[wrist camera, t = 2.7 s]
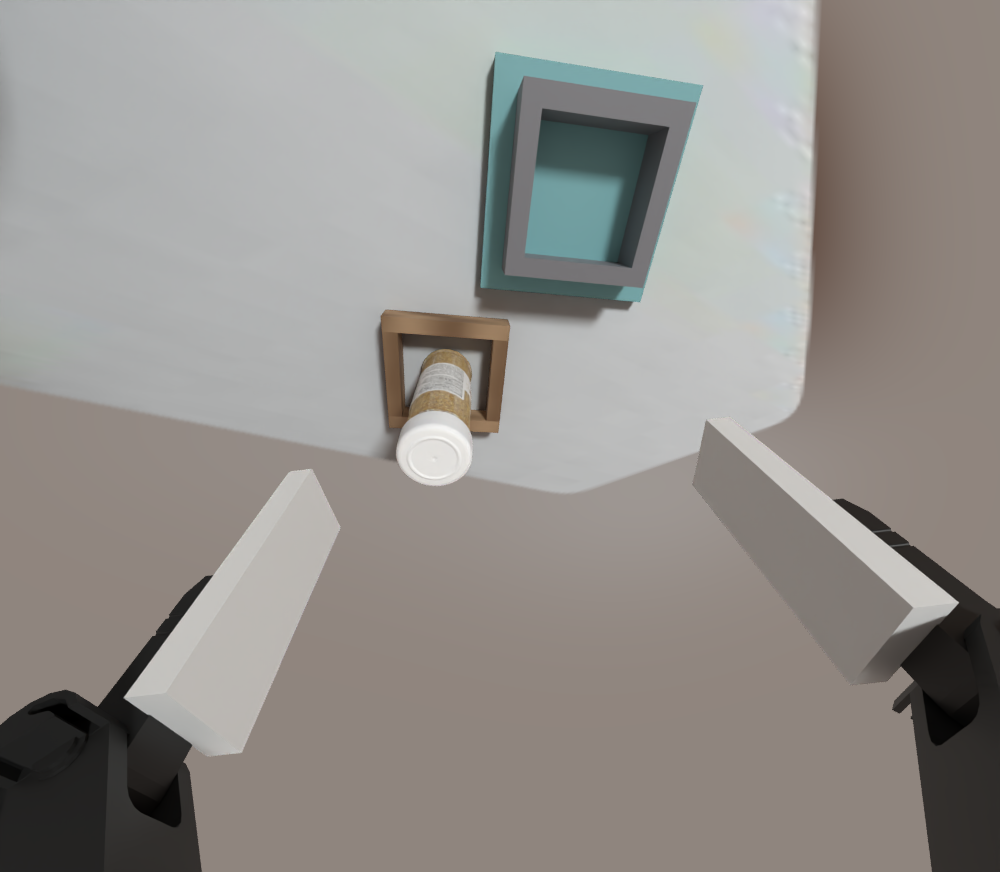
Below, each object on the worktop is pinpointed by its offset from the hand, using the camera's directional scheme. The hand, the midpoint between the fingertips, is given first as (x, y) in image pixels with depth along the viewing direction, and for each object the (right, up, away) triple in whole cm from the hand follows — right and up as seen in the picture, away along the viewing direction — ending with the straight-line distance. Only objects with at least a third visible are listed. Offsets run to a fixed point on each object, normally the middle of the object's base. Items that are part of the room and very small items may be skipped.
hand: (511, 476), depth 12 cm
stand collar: (-5, +7, +20) cm, 22 cm away
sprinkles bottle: (-5, +7, +20) cm, 22 cm away
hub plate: (+5, +19, +14) cm, 24 cm away
